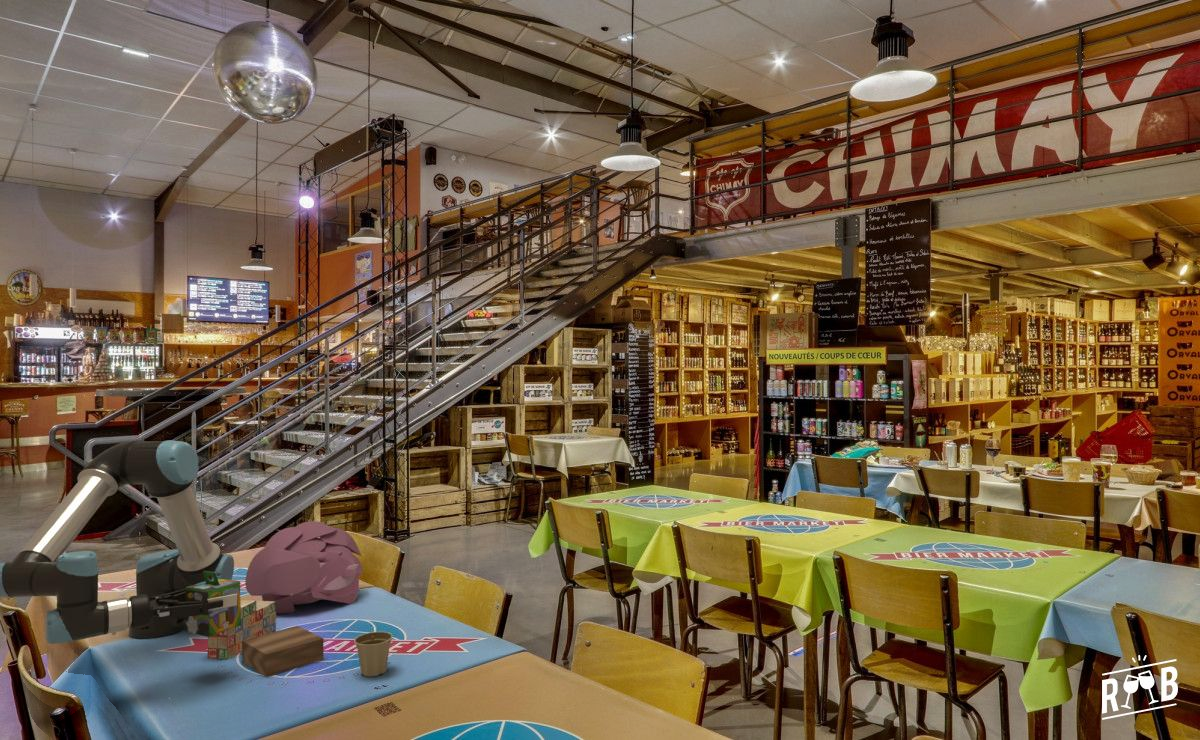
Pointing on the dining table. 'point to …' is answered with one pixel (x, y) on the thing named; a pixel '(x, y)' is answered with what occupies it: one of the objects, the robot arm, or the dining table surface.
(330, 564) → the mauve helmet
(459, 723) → the dining table surface
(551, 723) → the dining table surface
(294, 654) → the walnut base block
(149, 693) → the dining table surface
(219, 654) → the stack of blocks
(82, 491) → the robot arm
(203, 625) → the chalk box
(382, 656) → the flower pot
